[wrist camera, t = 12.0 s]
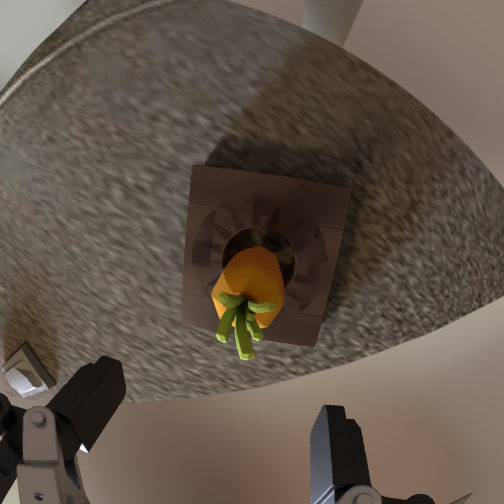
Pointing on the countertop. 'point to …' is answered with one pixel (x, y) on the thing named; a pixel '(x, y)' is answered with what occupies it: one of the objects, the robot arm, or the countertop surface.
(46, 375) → the soap mold
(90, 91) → the countertop surface
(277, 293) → the carrot
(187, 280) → the socket board
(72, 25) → the countertop surface
